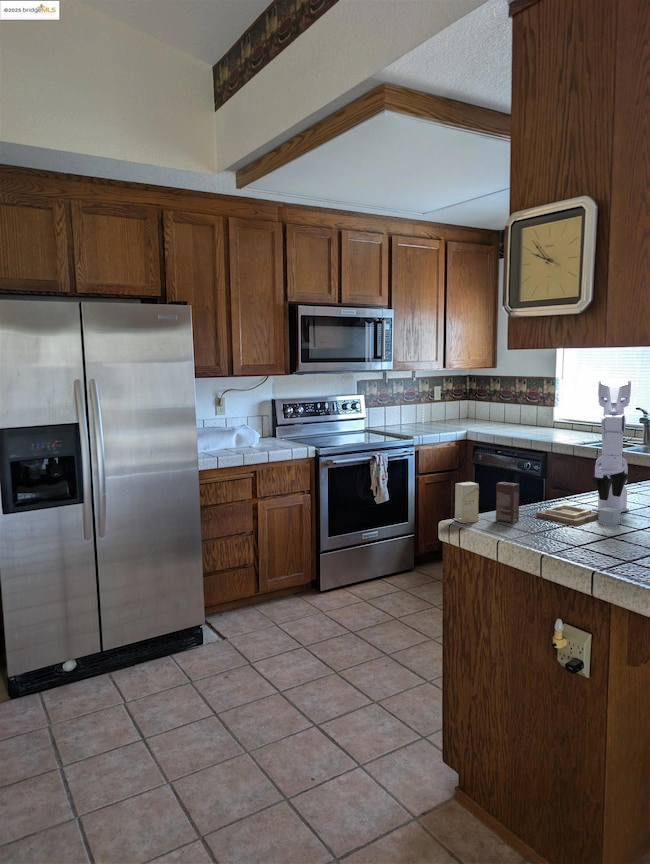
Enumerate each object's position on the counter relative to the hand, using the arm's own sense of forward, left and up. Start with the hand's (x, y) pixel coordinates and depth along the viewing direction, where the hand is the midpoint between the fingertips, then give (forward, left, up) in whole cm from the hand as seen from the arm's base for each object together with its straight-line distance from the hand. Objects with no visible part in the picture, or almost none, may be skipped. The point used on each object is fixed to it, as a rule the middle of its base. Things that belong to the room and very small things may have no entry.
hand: (610, 498), depth 187 cm
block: (0, 0, -8) cm, 8 cm away
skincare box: (+31, -30, -8) cm, 44 cm away
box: (+21, -22, -8) cm, 32 cm away
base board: (+3, -12, -8) cm, 15 cm away
